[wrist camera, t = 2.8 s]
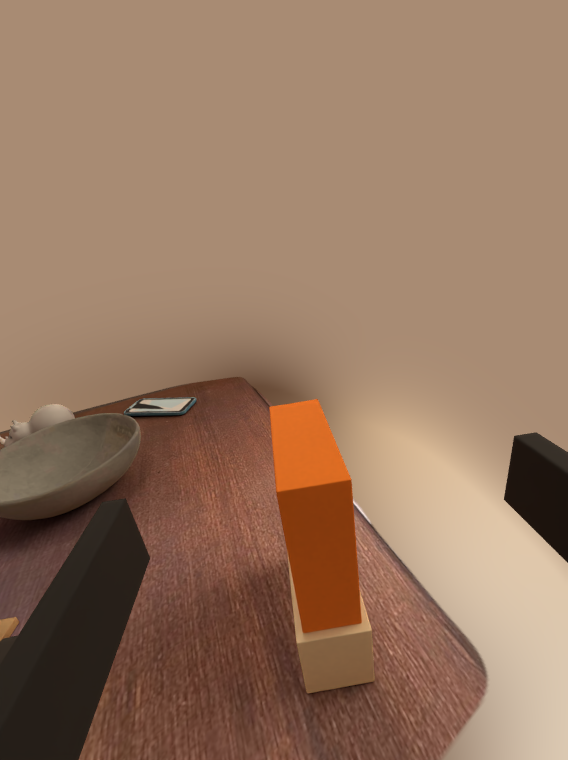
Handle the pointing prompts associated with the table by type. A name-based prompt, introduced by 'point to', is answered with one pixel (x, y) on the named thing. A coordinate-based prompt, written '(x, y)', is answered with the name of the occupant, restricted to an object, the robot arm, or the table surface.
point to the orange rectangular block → (316, 516)
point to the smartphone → (160, 406)
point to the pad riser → (334, 652)
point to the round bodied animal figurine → (38, 422)
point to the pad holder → (7, 627)
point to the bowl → (65, 465)
